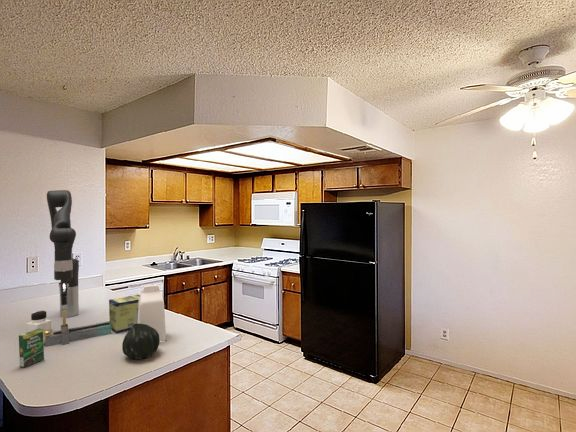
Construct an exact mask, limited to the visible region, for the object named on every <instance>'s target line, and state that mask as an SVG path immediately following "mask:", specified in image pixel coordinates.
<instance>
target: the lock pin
mask: <svg viewBox="0 0 576 432" xmlns="http://www.w3.org/2000/svg"><path fill="white" fill-rule="evenodd" d="M61 319H62V320H61V321H62V325H63V326H66V324H67V317H66V309H62V317H61Z"/></svg>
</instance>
